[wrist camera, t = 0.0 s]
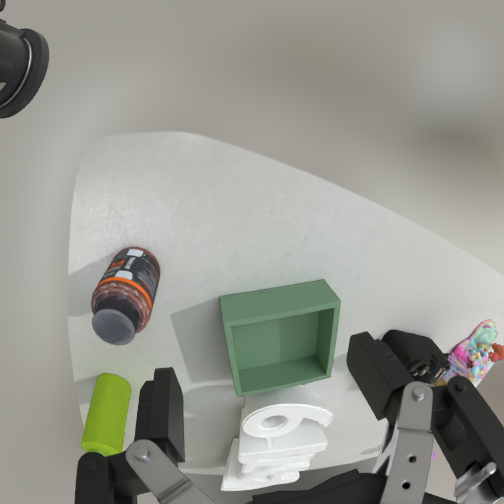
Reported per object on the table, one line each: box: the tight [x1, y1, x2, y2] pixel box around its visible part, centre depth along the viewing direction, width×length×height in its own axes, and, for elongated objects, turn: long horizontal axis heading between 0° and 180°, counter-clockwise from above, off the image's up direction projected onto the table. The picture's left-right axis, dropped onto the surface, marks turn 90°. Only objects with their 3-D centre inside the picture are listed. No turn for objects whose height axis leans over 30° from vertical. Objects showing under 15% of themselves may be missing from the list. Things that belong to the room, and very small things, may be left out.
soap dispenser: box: [81, 374, 131, 457], centre depth 29 cm, size 6×7×20 cm
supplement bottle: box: [91, 247, 160, 345], centre depth 26 cm, size 6×6×11 cm
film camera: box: [382, 330, 451, 384], centre depth 42 cm, size 18×12×10 cm
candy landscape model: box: [431, 320, 504, 387], centre depth 52 cm, size 25×24×9 cm
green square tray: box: [219, 279, 341, 397], centre depth 36 cm, size 14×14×5 cm
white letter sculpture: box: [221, 385, 334, 491], centre depth 43 cm, size 35×16×11 cm, turn 166°
